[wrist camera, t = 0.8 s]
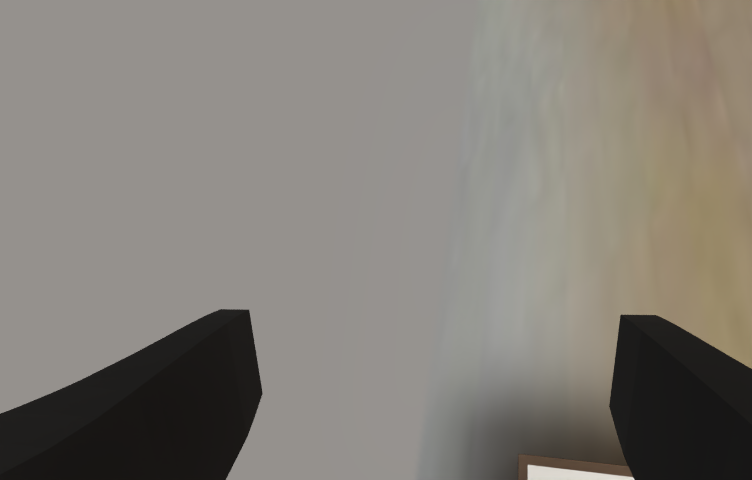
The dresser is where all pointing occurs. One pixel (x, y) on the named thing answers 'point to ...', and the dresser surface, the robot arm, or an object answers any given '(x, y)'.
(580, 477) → the cream tile
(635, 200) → the dresser surface
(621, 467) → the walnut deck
